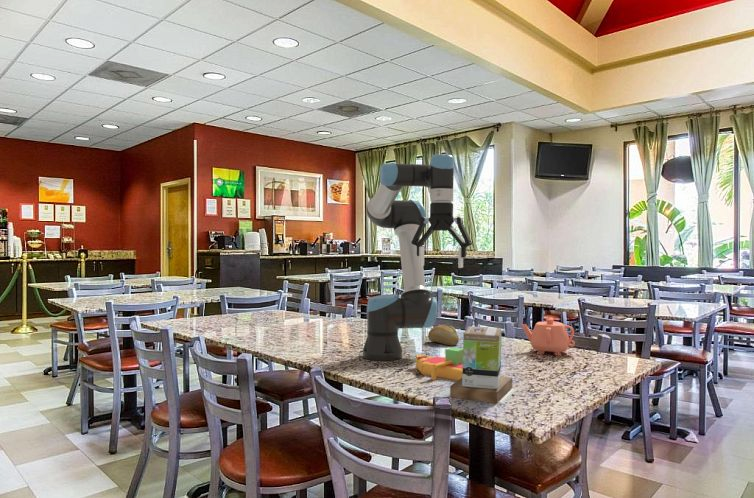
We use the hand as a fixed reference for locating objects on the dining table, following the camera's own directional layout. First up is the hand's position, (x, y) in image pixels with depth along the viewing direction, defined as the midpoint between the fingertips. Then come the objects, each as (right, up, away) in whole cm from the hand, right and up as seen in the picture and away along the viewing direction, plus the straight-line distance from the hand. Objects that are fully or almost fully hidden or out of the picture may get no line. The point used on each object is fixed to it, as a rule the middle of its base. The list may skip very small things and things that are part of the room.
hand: (440, 267), depth 175 cm
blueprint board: (+8, -35, -24) cm, 44 cm away
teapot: (+47, -35, +36) cm, 69 cm away
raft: (+3, -36, -2) cm, 36 cm away
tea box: (+9, -32, -25) cm, 41 cm away
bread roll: (+8, -35, +54) cm, 65 cm away
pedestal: (+9, -35, -25) cm, 43 cm away
